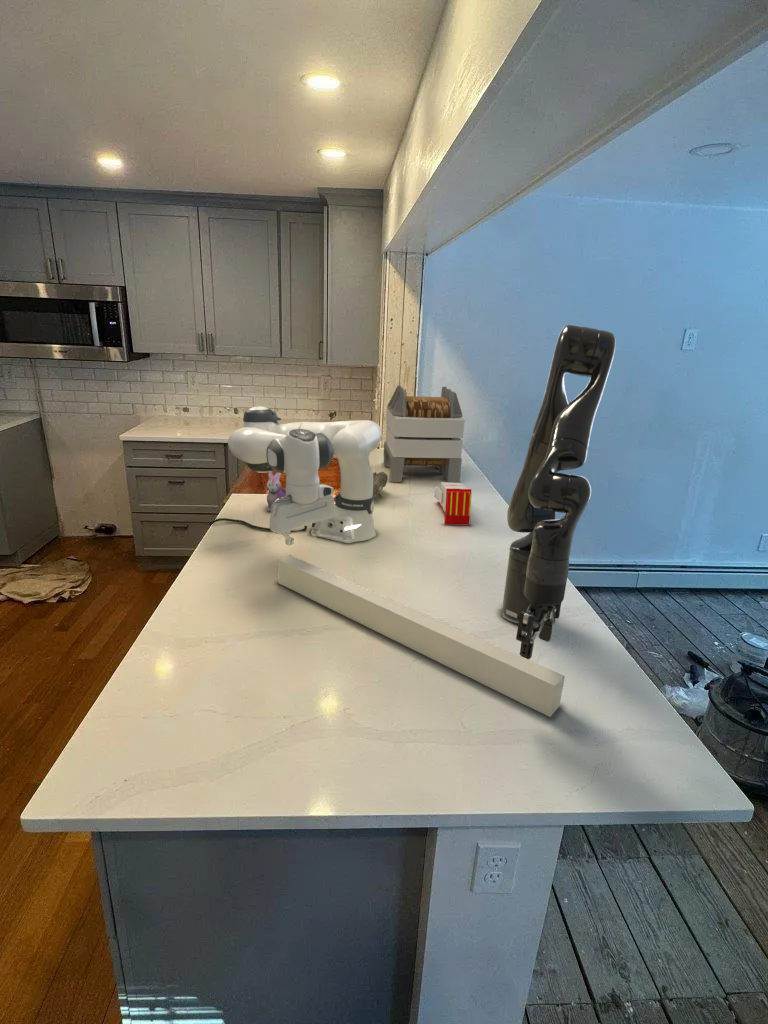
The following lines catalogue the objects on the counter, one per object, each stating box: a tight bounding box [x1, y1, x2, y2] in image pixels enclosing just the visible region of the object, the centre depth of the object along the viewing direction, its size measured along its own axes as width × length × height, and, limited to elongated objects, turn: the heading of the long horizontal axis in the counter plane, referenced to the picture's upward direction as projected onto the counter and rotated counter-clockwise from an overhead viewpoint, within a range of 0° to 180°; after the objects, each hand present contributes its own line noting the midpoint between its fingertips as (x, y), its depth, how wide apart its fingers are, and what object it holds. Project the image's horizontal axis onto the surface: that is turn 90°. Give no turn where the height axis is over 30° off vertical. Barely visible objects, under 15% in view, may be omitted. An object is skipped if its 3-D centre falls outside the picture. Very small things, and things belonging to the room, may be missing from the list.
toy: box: [434, 481, 472, 526], centre depth 221 cm, size 12×13×30 cm
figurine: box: [266, 470, 286, 512], centre depth 216 cm, size 9×10×15 cm
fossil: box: [373, 471, 389, 498], centre depth 236 cm, size 22×10×15 cm
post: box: [277, 554, 566, 718], centre depth 137 cm, size 82×4×7 cm, turn 50°
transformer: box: [383, 384, 465, 483], centre depth 268 cm, size 34×33×41 cm
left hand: (302, 539), depth 155 cm, fingers open, 8 cm apart
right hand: (535, 648), depth 113 cm, fingers open, 8 cm apart
